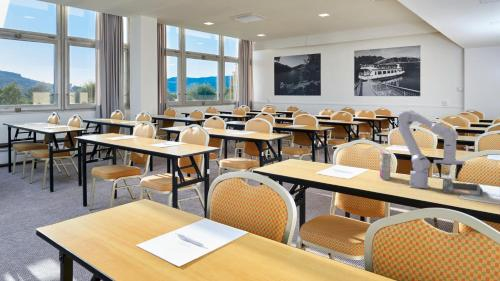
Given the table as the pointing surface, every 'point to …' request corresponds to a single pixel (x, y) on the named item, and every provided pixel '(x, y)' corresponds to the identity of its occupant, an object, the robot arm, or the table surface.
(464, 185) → the tray
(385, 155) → the candy bar box
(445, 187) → the blue block
